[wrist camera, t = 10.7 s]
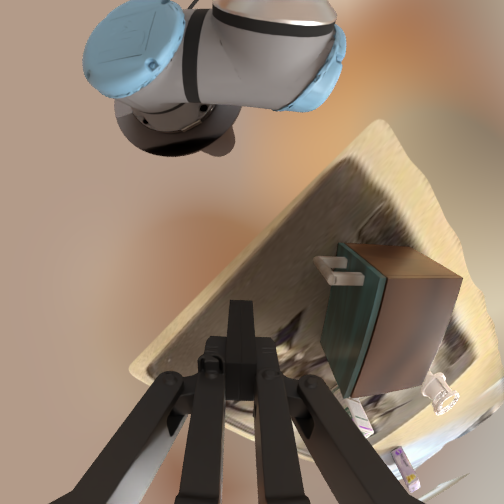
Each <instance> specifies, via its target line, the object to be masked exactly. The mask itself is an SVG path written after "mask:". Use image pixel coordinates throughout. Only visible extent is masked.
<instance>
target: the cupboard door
mask: <svg viewBox="0 0 504 504" xmlns="http://www.w3.org/2000/svg"><path fill="white" fill-rule="evenodd" d="M313 263H314V264H315V266H316V267H317V268H318V270H319V271H320V273H321V274H322V275H323V277H324V278H325V280H326V281H327V282H328V284H329V285H332V286H331V292H330V297H329V303H328V308H327V313H326V318H325V323H324V328H323V332H322V337H321V341H320V343H321V345H322V348H323V350H324V352H325V355H326V357H327V360H328V362H329V365H330V367H331V369H332V372H333V374H334V377H335V379H336V382H337V384H338V387H339V389H340V392H341V394H342V397H343V399H346V398H349V397H350V395H351V392H352V389H353V387H354V384H355V382H356V379H357V376H358V374H359V371H360V368H361V365H362V362H363V359H364V357H365V354H366V351H367V347H368V344H369V341H370V338H371V335H372V331H373V328H374V325H375V321H376V318H377V314H378V310H379V307H380V303H381V299H382V295H383V291H384V287H385V282H386V277H385V276H384V275H382V274H381V273H380V272H379V271H378V270H376V269H375V268H374V267H373V266H372V265H370V264H369V263H368V262H367V261H365V260H364V259H363V258H362V257H361V256H359V255H358V254H357V253H356V252H354V251H353V250H352V249H351V248H349V247H348V246H347V245H346V244H344V243H338V249H337V256H336V257H331V256H315V257H314V258H313ZM330 268H335V269H334V272H333V271H332V270H331V269H330Z"/></svg>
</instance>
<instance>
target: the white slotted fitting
mask: <svg viewBox="0 0 504 504" xmlns="http://www.w3.org/2000/svg"><path fill="white" fill-rule="evenodd" d="M423 382H424V384H423V386H422V388H421V393H422V394H423V396H425V397H427V396H428V397H429V399H430V400H431V401H432V406H433V408H434V412H435V414H436V415H441V414H444V413H445V412H447V411H448V410H449V409H451V408H452V407H453V406H454V405H455V403H456V402H457V401H458V399H459V393H458V392H457V391H456V390H454V391H452V389H451V388H450V387H449V386H448V385H447V383H446V382H445V376H444V375H443V373H436V374H434V375H433V374H432V372H431V371H430V370H429V371H428V373H427V375H426V377H425V379H424V381H423ZM453 395H455V398H454V399H453V401H452V402H451V403H450V404H449V405H448V406H446V407H444V408H443V407H442V406H441V405H443V404H442V403H443V402H444V401H445V400H447V399H448V398H449V397H451V396H453Z"/></svg>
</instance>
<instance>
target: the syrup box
mask: <svg viewBox="0 0 504 504" xmlns="http://www.w3.org/2000/svg"><path fill="white" fill-rule="evenodd" d="M331 391H332V393H333V394H334V396H335V397H336V398H337V400H338V401H339V402H340V404H341V405H342V406H343V408H344V409H345V411H346V412H347V413H348V415H349V416H350V417H351V419H352V420H353V421H354V423H355V424H356V425H357V427H358V428H359V429H360V431H361V432H362V433H363V435H364V436H365V437H366V438H367V437H369V436H370V435H372V434H373V433H374V431H373V429H372V427H371V425H370V422H369V420H368V418H367V416H366V414H365V412H364V410H363V407H362V405H361V403H360V401H359V399H358V398H351V397H349V398H346V399H343V397H342V394H341V392H340V389H339V387H338V384H337V385H336V386H335V387H334V388H332V389H331Z"/></svg>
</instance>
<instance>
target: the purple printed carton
mask: <svg viewBox="0 0 504 504" xmlns="http://www.w3.org/2000/svg"><path fill="white" fill-rule="evenodd" d="M391 454H392V457H393V459H394V461H395V463H396V465H397V467H398V469H399V471H400V473H401V475H402V477H403V479H404V481H405V483H406V485H407V487H408V489H409V491H410V492H411V493H412V492H413V491H415V490H416V489H418V488H420V483H419V480H418V477H417V475H416V473H415V471H414V469H413V468H412V466H411V464H410V462H409V460H408V458H407V456H406V454H405V453H404V451H403V449H402V447H399V448H397V449H395V450H393V451H391Z"/></svg>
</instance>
